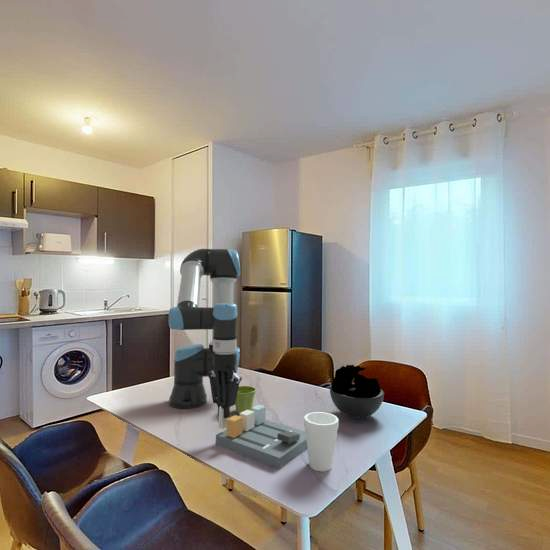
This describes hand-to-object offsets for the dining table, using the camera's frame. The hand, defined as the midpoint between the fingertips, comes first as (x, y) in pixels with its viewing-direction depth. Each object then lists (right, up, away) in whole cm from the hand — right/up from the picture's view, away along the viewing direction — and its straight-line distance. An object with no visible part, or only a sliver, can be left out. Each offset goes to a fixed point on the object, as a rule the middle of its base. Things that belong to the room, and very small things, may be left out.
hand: (223, 427), depth 113 cm
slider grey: (+11, -2, +7) cm, 13 cm away
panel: (+13, -5, -1) cm, 14 cm away
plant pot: (+4, -5, +26) cm, 27 cm away
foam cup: (+29, -5, -13) cm, 32 cm away
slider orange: (+4, -1, -2) cm, 5 cm away
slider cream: (+7, -1, +2) cm, 8 cm away
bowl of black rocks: (+47, -6, +23) cm, 53 cm away
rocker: (+20, 0, -7) cm, 21 cm away
